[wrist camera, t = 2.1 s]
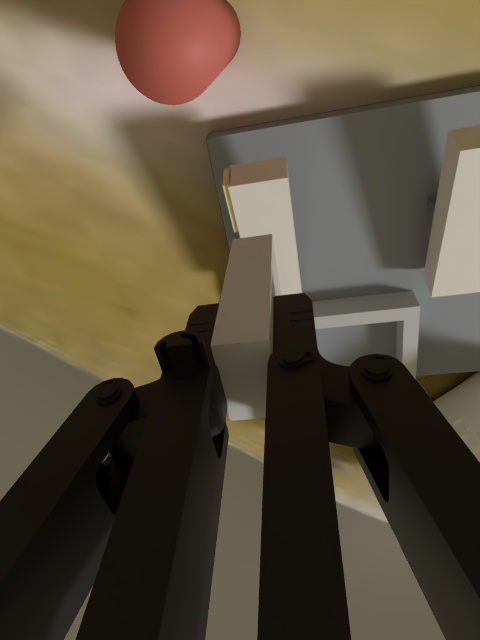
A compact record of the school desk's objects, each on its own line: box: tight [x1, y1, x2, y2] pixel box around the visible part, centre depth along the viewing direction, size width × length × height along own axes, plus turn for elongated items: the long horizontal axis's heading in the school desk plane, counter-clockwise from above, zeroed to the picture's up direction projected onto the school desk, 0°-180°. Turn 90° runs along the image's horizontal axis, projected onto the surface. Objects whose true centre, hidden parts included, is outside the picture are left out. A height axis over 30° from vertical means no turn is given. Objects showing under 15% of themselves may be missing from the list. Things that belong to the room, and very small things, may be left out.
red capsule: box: [115, 0, 241, 105], centre depth 20 cm, size 4×4×11 cm
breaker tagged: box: [222, 157, 302, 295], centre depth 26 cm, size 10×3×2 cm, turn 11°
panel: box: [206, 86, 480, 379], centre depth 30 cm, size 20×18×4 cm
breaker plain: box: [423, 125, 480, 297], centre depth 25 cm, size 10×3×2 cm, turn 11°
